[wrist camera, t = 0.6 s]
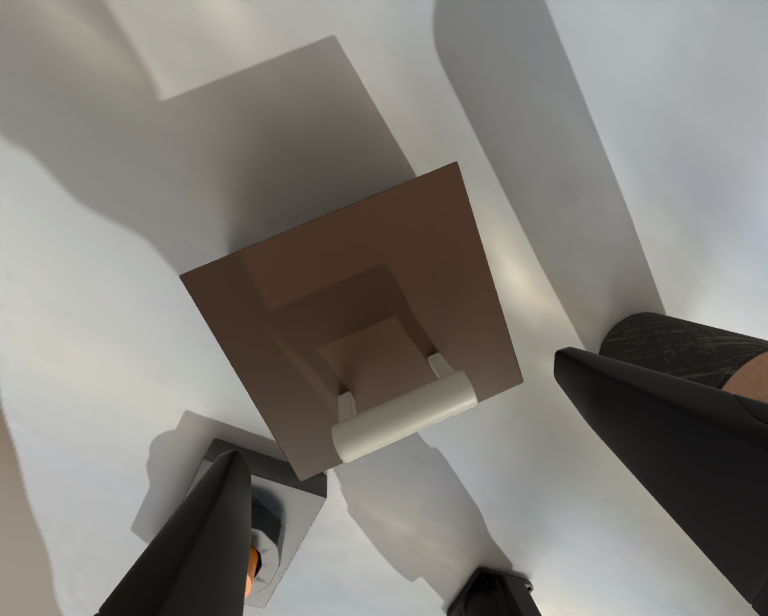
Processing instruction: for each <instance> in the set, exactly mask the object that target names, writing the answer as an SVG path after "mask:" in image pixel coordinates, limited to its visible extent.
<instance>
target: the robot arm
mask: <svg viewBox="0 0 768 616" xmlns="http://www.w3.org/2000/svg"><path fill="white" fill-rule="evenodd" d="M554 377H555V379H556V381H557V383H558V384H559V385H560V387H561V388H562V389H563V391H564V392H565V393H566V395H567V396H568V398H569V399H570V400H571V402H572V403H573V404H574V406H575V407H576V408H577V410H578V411H579V412H580V414H581V415H582V417H583V418H584V419H585V420H586V422H587V423H588V424H589V426H590V427H591V428H592V429H593V430H594V431H595V433H596V434H597V435H598V436H599V437H600V438H601V439H602V440H603V441H604V443H605V444H606V445H607V446H608V447H609V448H610V449H611V450H612V452H613V453H614V454H615V455H616V456H617V457H618V458H619V459H620V460H621V462H622V463H623V464H624V465H625V466H626V467H627V468H628V469H629V470H630V472H631V473H632V474H633V475H634V476H635V477H636V478H637V479H638V480H639V482H640V483H641V484H642V485H643V486H644V487H645V488H646V489H647V490H648V492H649V493H650V494H651V495H652V496H653V497H654V498H655V499H656V500H657V502H658V503H659V504H660V505H661V506H662V507H663V508H664V509H665V510H666V512H667V513H668V514H669V515H670V516H671V517H672V518H673V519H674V521H675V522H676V523H677V524H678V525H679V526H680V527H681V528H682V529H683V531H684V532H685V533H686V534H687V535H688V536H689V537H690V538H691V539H692V541H693V542H694V543H695V544H696V545H697V546H698V547H699V548H700V549H701V551H702V552H703V553H704V554H705V555H706V556H707V557H708V558H709V559H710V561H711V562H712V563H713V564H714V565H715V566H716V567H717V568H718V569H719V571H720V572H721V573H722V574H723V575H724V576H725V577H726V578H727V580H728V581H729V582H730V583H731V584H732V585H733V586H734V587H735V588H736V590H737V591H738V592H739V593H740V594H741V595H742V596H743V597H744V598H745V600H746V601H747V602H748V603H749V604H752V608H753V609H754V610H755V611H756V612H757V613H758V614H759V616H768V403H766V402H763V401H759V400H755V399H752V398H748V397H745V396H741V395H738V394H731V393H730V392H727V391H724V390H720V389H717V388H713V387H710V386H706V385H703V384H699V383H696V382H692V381H689V380H685V379H682V378H678V377H675V376H671V375H668V374H664V373H661V372H657V371H654V370H650V369H647V368H643V367H640V366H636V365H633V364H629V363H626V362H622V361H619V360H615V359H612V358H608V357H605V356H601V355H598V354H594V353H591V352H587V351H584V350H580V349H577V348H573V347H567V348H563V349H560V350H557V351H556V353H555V359H554ZM250 544H251V473H250V470H249V468H248V466H247V464H246V463H245V461H244V459H243V457H242V456H241V454H240V452H239V451H238V450H231V451H228V452H225V453H222V454H220V455H219V456H218V457H217V458H216V460H215V461H214V462H213V463H212V465H211V466H210V467H209V469H208V470H207V471H206V472H205V474H204V475H203V476H202V478H201V479H200V480H199V481H198V483H197V484H196V485H195V487H194V488H193V489H192V490H191V492H190V493H189V494H188V496H187V497H186V498H185V499H184V501H183V502H182V503H181V505H180V506H179V507H178V508H177V510H176V511H175V512H174V514H173V515H172V516H171V517H170V519H169V520H168V521H167V523H166V524H165V525H164V526H163V528H162V529H161V530H160V532H159V533H158V534H157V535H156V537H155V538H154V539H153V540H152V542H151V543H150V544H149V546H148V547H147V548H146V549H145V551H144V552H143V553H142V555H141V556H140V557H139V558H138V560H137V561H136V562H135V564H134V565H133V566H132V567H131V569H130V570H129V571H128V573H127V574H126V575H125V576H124V578H123V579H122V580H121V582H120V583H119V584H118V585H117V587H116V588H115V589H114V591H113V592H112V593H111V594H110V596H109V597H108V598H107V600H106V601H105V602H104V603H103V605H102V606H101V607H100V609H99V613H96V614H95V615H94V616H243V608H244V599H245V590H246V581H247V572H248V563H249V554H250ZM532 591H533V586H532V584H531V582H530V581H527V580H524V579H520V578H517V577H514V576H510V575H507V574H504V573H500V572H497V571H494V570H490V569H487V568H483V567H482V568H479V569H478V570H477V571H476V572H475V574H474V575H473V577H472V578H471V579H470V581H469V582H468V584H467V585H466V587H465V588H464V590H463V591H462V593H461V594H460V596H459V597H458V599H457V600H456V602H455V603H454V604H453V606H452V607H451V609H450V610H449V612H448V613H447V616H541V614H540V612H539V610H538V608H537V606H536V604H535V602H534V600H533V599H532V597H531V595H530V593H531V592H532Z"/></svg>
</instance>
